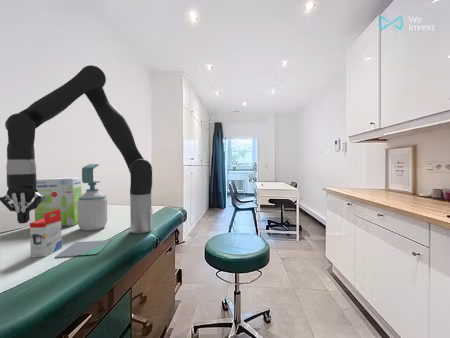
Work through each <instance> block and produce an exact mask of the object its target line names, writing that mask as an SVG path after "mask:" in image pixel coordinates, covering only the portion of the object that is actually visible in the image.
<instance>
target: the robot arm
mask: <svg viewBox="0 0 450 338" xmlns="http://www.w3.org/2000/svg"><path fill="white" fill-rule="evenodd" d="M106 82H107V76H106V74H105V72H104V71H103V69H102V68H100V67H98V65H97V66H96V65H92V64H91V65H86V66H84V67H83V68H81V70H80V71H78V72H77V74H75V75H74V76H73V77H72V78H70V79H69V80H68V81H67V82H66V83H64V84H62V85H61V86H59V87H57V88H56V89H54V90H53V91H51V92H49V93H48V94H46V95H44V96H42V97H41V98H38V99H37V100H36V101H34V102H33V103H31V104H30V105H29V106H28V107H26V108H25V109H23V110H21V111H19V112H18V113H13V114H11V115H10V116H9V117H7V119H6V121H5V122H4V123H5V124H4V126H5V129H6V131H7V139H8V143H7V145H6V166H5V167H6V187H7V188H8V189H7V190H6V194H5V195H3V196H0V202H1V204H3V205H4V206H5V207H6V208H7V209H8V210H9V212H15V213H16V216H17V217H16V219H17V222H18V223H19V224H26V223H29V221H30V212H31V211H33V210H35V209H36V207H37V206H38V205H39V204H40V203H41V201H42V200H43V199H44V198H45V195H41V194H39V193H38V190H37V189H36V185H37V181H36V179H37V165H36V157H35V156H36V155H35V153H36V152H35V151H36V150H35V137H36V129H37V128H39V127H40V126H41V125H43V124H44V123H45V122H49V121H50V120H51V119H53V118H55V117H57V116H58V115H59V114H61V113H62V112H63V111H65V110H66V109H67V108H68V107H69V106H71V105H73V103H74V102H75V101H76V100H78V99H80V98H81V97H82V96H83V95H85V97H86V98H87V99H88V100H89V102H90V104H91V105H92V107H93V109H94V110H95V112H96V114H97V117H98V118H99V120H100V121H101V123H102V125H103V127H104V129H105V131H106V132H107V134H108V136H109V138H110V139H111V140H112V143H113V144H114V145H115V146H116V147H115V148H117V149H118V151H119V152H120V154H121V156H122V157H123V160H124V162H125V164H126V166H127V168H128V172H129V174H130V175H129V176H130V187H129V198H130V199H129V200H130V201H129V204H130V205H129V206H130V207H129V209H130V213H129V214H130V215H129V216H130V233H132V234H144V233H150V232H152V230H153V223H154V222H153V221H154V220H153V207H152V190H153V189H152V188H153V166H152V164H151V163H150V162H149V161H148V160H147V159H145V158H144V157H143V156H142V154H141V152H140V151H139V149H138V147H137V145H136V142H135V138H134V134H133V132H132V130H131V128H130V125H129V124H128V122H127V120H126V119H125V117H124V116H123V114H122V113H121V111H119V110H118V109H117V108H116V107H115V106H114V105H113V104H112V103H111V101H110V100H109V98H108V95H107V94H106V91H105V89H104V86H105V85H106ZM34 199H35V200H34ZM32 200H33V201H32Z"/></svg>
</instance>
